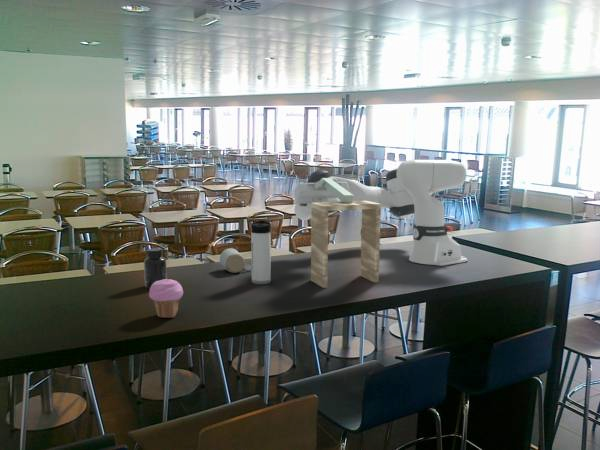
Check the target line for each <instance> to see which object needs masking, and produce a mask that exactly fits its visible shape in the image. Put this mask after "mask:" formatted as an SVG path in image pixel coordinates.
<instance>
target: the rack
mask: <svg viewBox="0 0 600 450" xmlns="http://www.w3.org/2000/svg"><path fill="white" fill-rule="evenodd" d="M359 209H362V212H361V229H360V230H361V234H360V235H361V236H360V243H361V245H360V273H359V275H360V277H362V278H364V279H366V280H368V281H370V282H373V283H375V284H376V283H379V281H380V254H381V253H380V251H381V250H380V247H381V245H380V244H381V241H380V240H381V213H382V212H381V211H382V209H381V204H379V203H375V202H370V201H353V203H343V202H342V201H341V202H319V203H312V214H311V218H310V219H311V229H310V231H311V233H310V234H311V236H310V238H311V239H310V281H311V282H313V283H315V284H316V285H318V286H319V287H320V288H323V289H327V288H328V276H329V275H328V269H329V267H328V266H329V263H328V262H329V259H328V257H329V217H328V211H338V212H339V211H355V210H356V211H358V210H359Z"/></svg>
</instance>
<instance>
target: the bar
mask: <svg viewBox="0 0 600 450" xmlns="http://www.w3.org/2000/svg"><path fill="white" fill-rule="evenodd" d="M322 179H325V185H322V186H323V187H325V188H326V189H327V190H328V191H330V192H331V193H332V194H333V195H335V196H336V197H337V198H338V199H340V201H341V202H343V203H353V196H354V195H352V194H351V193H350V192H348V191H347V190H346V189H344V188H343V187H341V186H340V185H339V184H337V183H336V182H335V181H333V180H332V179H331V178H322Z"/></svg>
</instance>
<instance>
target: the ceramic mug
mask: <svg viewBox="0 0 600 450" xmlns="http://www.w3.org/2000/svg"><path fill="white" fill-rule="evenodd" d="M219 263H220V265H221V267H223V268H224V269H225V270H226V271H228V272H229V273H232V274H238V273H239V272H241V271H242V270H243V269H244V270H246V271H248V272H249V271H252V264H251V265H250V264H248V263H247V262H245V258H244V256H243V255H242V254H241V253H240V252H239V251H238V250H237V249H235V248H226V249H224V250H223V251H222V252H221V253H220V255H219Z"/></svg>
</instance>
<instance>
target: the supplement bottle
mask: <svg viewBox="0 0 600 450" xmlns="http://www.w3.org/2000/svg"><path fill="white" fill-rule="evenodd" d="M143 267H144V268H143V270H144V273H143V274H144V286H145V288H146V289H149V290H150V288H151V285H152V284H153V283H154V282H156V281H160V280H163V279H168V274H167V272H168V271H167V270H168V269H167V259H166V258H165V257H164V256H163V249H162V248H158V247H156V248H155V247H153V248H148V249H146V258H145V259H144V261H143Z"/></svg>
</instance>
